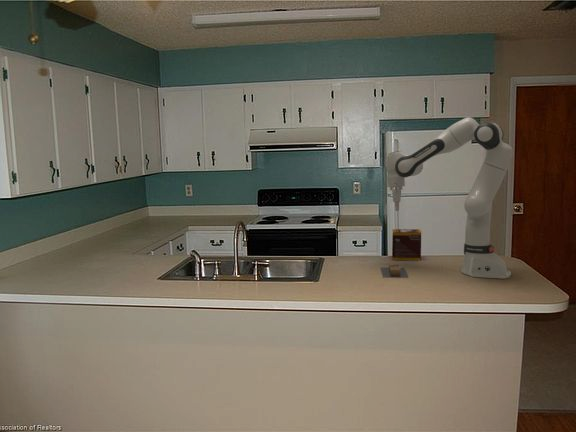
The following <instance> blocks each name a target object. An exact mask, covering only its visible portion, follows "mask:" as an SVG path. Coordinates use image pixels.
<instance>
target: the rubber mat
mask: <svg viewBox="0 0 576 432" xmlns="http://www.w3.org/2000/svg"><path fill="white" fill-rule="evenodd" d="M380 271H381V275H382V276H381V277H382V279H383V278H384V279H385V278H386V279H387V278H388V279H389V278H391V279H394V278H395V279H397V278H398V279H409V276H408V275H409V274H408V273H407V271H406V268H405V267H400V277H391V276H390V273H389V266H387V267H385V266H384V267H380Z"/></svg>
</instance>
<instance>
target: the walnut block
mask: <svg viewBox="0 0 576 432" xmlns="http://www.w3.org/2000/svg"><path fill="white" fill-rule="evenodd" d="M388 267H389V273H390V276H391V277H400V268H401V266H400V265H399V264H388Z"/></svg>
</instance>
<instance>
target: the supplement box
mask: <svg viewBox="0 0 576 432" xmlns="http://www.w3.org/2000/svg"><path fill="white" fill-rule="evenodd" d="M391 243H392V244H391V261H408V260H412V261H414V262H418V261H419V262H420V261H421V260H422V231H421V229H420V228H419V229H418V228H417V229H411V228H410V229H409V228H406V229H405V228H404V229H402V228H397V229H396V228H393V229H392V242H391Z"/></svg>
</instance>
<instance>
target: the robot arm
mask: <svg viewBox="0 0 576 432" xmlns="http://www.w3.org/2000/svg"><path fill="white" fill-rule="evenodd" d="M503 139H504V130H503V128H502V127H501V126H499V125H498V124H497V123H494V122H491V121H490V122H488V121H486V122H483V123H482V122H481V123H480V124H479V122H477V121H476V120H475V118H472V117H470V116H468V117H464V118H463V119H460V120H459V121H457V122H455V123H453V124H452V125H450V126H448V127H447V128H446V129H445V130H444V131H442V132H441V133H439V134H438V135H437V136H436V137H435V138H433V139H432V140H431V141H430V142H429V143H427V144H426V145H424V146H422V147H421V148H420V149H418V150H417V151H415V152H413V154H410V155H408V154H406V153H405V152H403V151H401V150H396V151H393V152H390V153H388V154H387V156H386V166H385V167H386V172H387V174H386V175H387V176H386V182H387V183H386V185H387V188H389V191H391V192H392V202H393V203H394V208H395V211H396V212H398V211H400V202H401V197H402V190H403V187H405V186H406V182H405V181H406V180H405V178H408V177H415V176H417V175H419V174H420V173H422V172H423V169H424V165H423V164H424V163H425V162H426V161H428V160H430V159H431V158H433V157H435V156H438V155H443V154H447V153H448V154H449V153H452V152H454V151H456V150H458V149H460V148H461V147H463V146H464V145H466V144H468V142H471V141H476V143H477V144H478V145H479V146H480V147H483V148H484V149H485V150H486V151H487V152H486V155H485V157H484V161H483V162H482V165H481V166H480V169H479V171H478V174H477V176H476V178H475V180H474V182H473V184H472V186H471V188H470V190H469V193H468V195H467V197H466V199H465V200H464V205H463V207H464V210H465V213H467V214H466V223H465V239H464V241H465V243H463V256H464V257H463V263H462V267H461V270H460V272H461V273H462V274H464V275H467V276H469V277H471V278H472V277H473V278H487V279H488V278H489V279H504V280H505V279H508V278H510V277H511V276H512V272H511V270H508V269H507V266H506V262H505V260H504V259H502V258H501V257H500V256H499V255H498V254H496V253H495V246H494V245H492V244H491V243H490V241H491V240H490V239H491V223H492V220H491V219H492V211H493V209H492V208H493V201H494V199H495V197H496V195H497V192H498V191H499V189H500V187H501V184H502V183H503V181H504V178H505V176H506V174H507V171H508V170H509V167H510V164H511V162H512V161H511V160H512V158H513V154H514V150H513V147H511V145H509V144H508V143H506V142H504V141H503Z"/></svg>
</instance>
